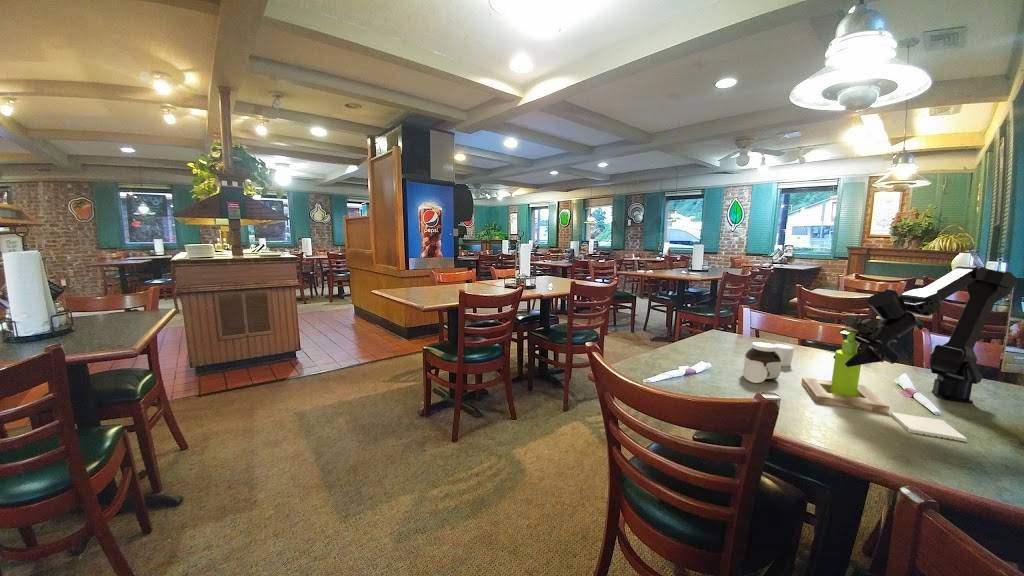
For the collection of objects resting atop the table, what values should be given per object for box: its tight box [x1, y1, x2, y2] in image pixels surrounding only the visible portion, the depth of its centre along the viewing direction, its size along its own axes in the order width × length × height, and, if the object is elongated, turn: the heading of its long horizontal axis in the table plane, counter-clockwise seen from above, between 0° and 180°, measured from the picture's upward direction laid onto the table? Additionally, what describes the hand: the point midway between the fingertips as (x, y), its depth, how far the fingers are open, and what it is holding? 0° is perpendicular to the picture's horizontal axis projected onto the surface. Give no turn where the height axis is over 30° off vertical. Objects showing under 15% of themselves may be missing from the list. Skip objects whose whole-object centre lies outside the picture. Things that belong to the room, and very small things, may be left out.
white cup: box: [773, 343, 795, 367], centre depth 143 cm, size 7×7×7 cm
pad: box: [889, 411, 968, 442], centre depth 96 cm, size 10×10×1 cm
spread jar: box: [742, 341, 782, 384], centre depth 127 cm, size 12×11×12 cm
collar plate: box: [801, 376, 891, 414], centre depth 114 cm, size 16×16×2 cm
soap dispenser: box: [829, 329, 862, 397], centre depth 112 cm, size 6×7×20 cm
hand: (840, 362), depth 113 cm, fingers closed on soap dispenser, 6 cm apart
